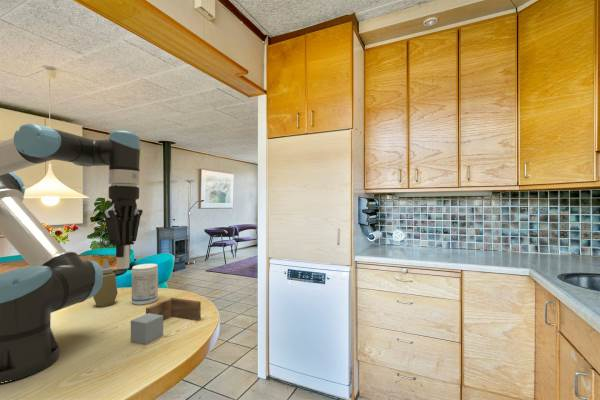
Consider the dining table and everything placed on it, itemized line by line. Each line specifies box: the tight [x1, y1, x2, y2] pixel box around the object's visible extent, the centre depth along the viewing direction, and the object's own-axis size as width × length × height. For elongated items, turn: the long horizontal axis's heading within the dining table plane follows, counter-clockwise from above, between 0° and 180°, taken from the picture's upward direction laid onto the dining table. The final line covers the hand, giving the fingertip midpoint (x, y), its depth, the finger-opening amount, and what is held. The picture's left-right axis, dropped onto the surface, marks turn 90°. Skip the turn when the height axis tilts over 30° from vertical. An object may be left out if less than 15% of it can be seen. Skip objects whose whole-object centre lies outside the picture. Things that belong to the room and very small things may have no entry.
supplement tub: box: [131, 263, 159, 306], centre depth 116 cm, size 10×10×15 cm
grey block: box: [130, 313, 164, 345], centre depth 83 cm, size 6×6×6 cm
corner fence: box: [145, 297, 202, 322], centre depth 94 cm, size 11×13×6 cm
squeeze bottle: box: [92, 258, 118, 307], centre depth 113 cm, size 8×8×18 cm
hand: (122, 267), depth 80 cm, fingers closed
